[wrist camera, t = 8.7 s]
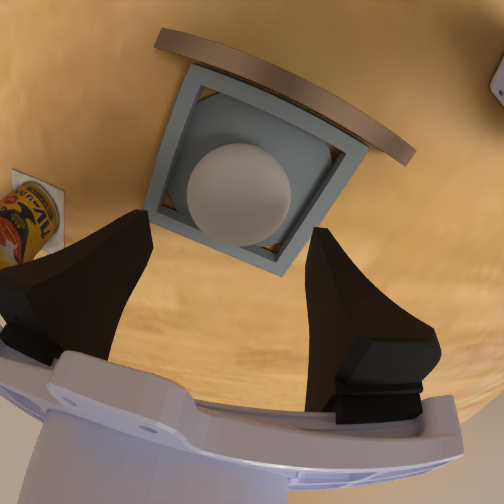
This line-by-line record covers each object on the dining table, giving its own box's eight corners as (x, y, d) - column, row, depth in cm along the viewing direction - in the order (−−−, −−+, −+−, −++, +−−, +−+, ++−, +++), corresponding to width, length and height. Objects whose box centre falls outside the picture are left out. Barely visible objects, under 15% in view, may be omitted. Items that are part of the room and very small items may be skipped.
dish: (363, 141, 16) (369, 148, 15) (282, 265, 22) (281, 277, 21) (197, 63, 14) (190, 63, 13) (148, 208, 20) (140, 217, 19)
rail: (401, 138, 15) (416, 150, 13) (391, 153, 16) (405, 166, 14) (178, 31, 13) (161, 27, 11) (170, 48, 13) (153, 47, 11)
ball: (294, 137, 16) (299, 170, 12) (284, 218, 19) (283, 273, 15) (200, 130, 16) (168, 160, 12) (202, 209, 20) (177, 261, 15)
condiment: (65, 189, 20) (-31, 286, 11) (66, 260, 25) (3, 352, 16) (12, 167, 19) (-77, 242, 9) (18, 235, 24) (-46, 311, 14)
